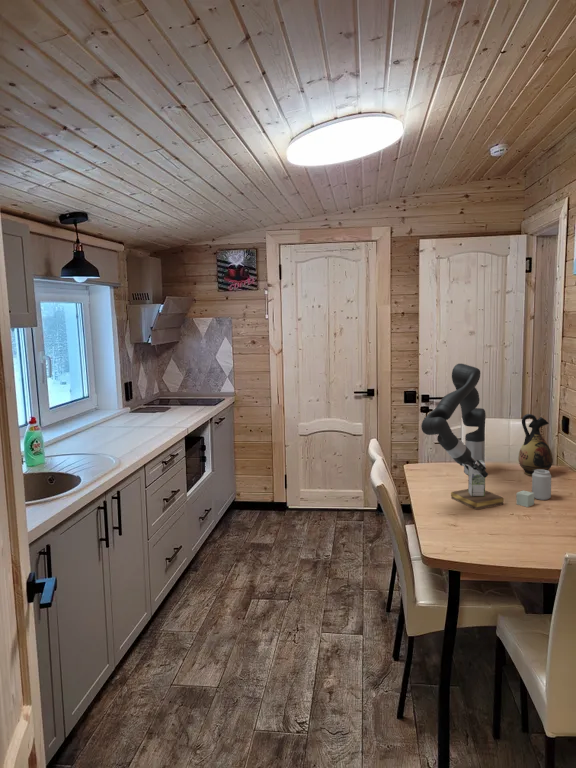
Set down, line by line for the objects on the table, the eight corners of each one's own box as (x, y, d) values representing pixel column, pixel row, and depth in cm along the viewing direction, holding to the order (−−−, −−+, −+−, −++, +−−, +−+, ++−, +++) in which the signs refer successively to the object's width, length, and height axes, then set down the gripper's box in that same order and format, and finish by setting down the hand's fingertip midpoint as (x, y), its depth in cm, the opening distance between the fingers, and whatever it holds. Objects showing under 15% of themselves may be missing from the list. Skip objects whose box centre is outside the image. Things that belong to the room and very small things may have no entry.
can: (550, 496, 241) (551, 469, 240) (550, 501, 234) (551, 473, 233) (532, 494, 244) (532, 467, 243) (531, 499, 238) (532, 472, 236)
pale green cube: (516, 504, 233) (516, 492, 232) (522, 501, 236) (523, 490, 235) (527, 507, 229) (527, 495, 228) (534, 504, 232) (534, 493, 231)
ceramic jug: (546, 470, 280) (548, 411, 276) (556, 478, 265) (557, 417, 261) (511, 469, 283) (512, 411, 279) (518, 478, 268) (519, 417, 264)
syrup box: (481, 492, 240) (481, 459, 238) (485, 496, 234) (485, 463, 232) (468, 492, 240) (468, 460, 239) (471, 497, 235) (471, 463, 233)
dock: (451, 498, 242) (451, 491, 242) (477, 493, 248) (477, 487, 247) (476, 509, 228) (476, 502, 227) (503, 504, 233) (503, 497, 232)
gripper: (474, 446, 225) (496, 470, 231) (451, 440, 238) (473, 462, 244) (463, 461, 224) (486, 484, 230) (441, 453, 237) (463, 476, 243)
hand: (479, 473), depth 237 cm, fingers open, 8 cm apart
